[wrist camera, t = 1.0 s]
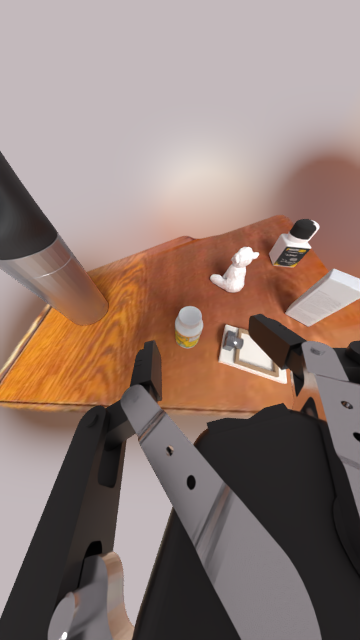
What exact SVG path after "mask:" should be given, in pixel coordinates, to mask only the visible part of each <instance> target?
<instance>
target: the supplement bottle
mask: <svg viewBox="0 0 360 640" xmlns="http://www.w3.org/2000/svg"><path fill="white" fill-rule="evenodd" d="M202 328H203V321H202V314H201V312H200V310H199V309H197V308H196V307H193V306H186V307H184V308H182V309H181V310H180V312H179V315H178V317H177V318H176V320H175V339H176V342H177V343H178V345H180V346H181V347H183V348H192V347H194V346H195V345H196V344H197V342H198V340H199V337H200V334H201V331H202Z"/></svg>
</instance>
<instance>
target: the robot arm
mask: <svg viewBox="0 0 360 640" xmlns="http://www.w3.org/2000/svg"><path fill="white" fill-rule="evenodd" d="M0 269H2V270H3V271H4V272H6V273H7V274H8V275H10V276H11V277H13V278H14V279H15V280H17V281H18V282H20V283H21V284H22V285H24V286H25V287H26V288H28V289H29V290H31V291H32V292H33V293H34V294H36V295H37V296H38V297H40V298H41V299H43V300H44V301H45V302H47V303H48V304H49V305H51V306H52V307H53V308H55V309H56V310H57V311H59V312H60V313H61V314H63V315H64V316H65V317H67V318H68V319H70V320H71V321H72V322H74V323H75V324H78V325H89V324H93V323H95V322H97V321H99V320H100V319H101V318H103V316H104V315H105V314H106V313H107V311H108V302H107V300H106V299H105V298H104V296H103V295H102V293H101V292H100V291H99V289H98V288H97V286H96V285H95V284H94V282H93V281H92V279H91V278H90V277H89V275H88V274H87V272H86V271H85V270H84V268H83V267H82V265H81V264H80V263H79V261H78V260H77V259H76V257H75V256H74V255H73V253H72V252H71V250H70V249H69V248H68V246H67V245H66V244H65V242H64V241H63V239H62V238H61V236H60V235H59V234H58V232H57V231H56V229H55V228H54V227H53V225H52V224H51V223H50V221H49V220H48V218H47V217H46V216H45V215H44V213H43V212H42V210H41V209H40V208H39V206H38V205H37V204H36V202H35V201H34V199H33V198H32V197H31V195H30V194H29V192H28V191H27V190H26V188H25V187H24V185H23V184H22V183H21V181H20V180H19V178H18V177H17V175H16V174H15V172H14V171H13V170H12V168H11V166H10V165H9V163H8V162H7V160H6V159H5V157H4V156H3V155H2V153H1V152H0ZM248 333H249V336H250V338H251V339H252V340H253V341H254V342H255V343H256V344H257V345H258V346H259V347H260V348H261V349H262V350H263V351H264V352H265V353H266V354H267V355H268V356H269V358H270V359H271V360H272V361H273V362H274V363H275V364H276V365H277V366H278V367H279V368H280V369H281V370H285V369H288V368H289V369H290V370H291V373H290V376H291V384H292V392H293V407H292V410H291V409H287V407H286V406H285V405H284V403H282V404H278V405H274V406H270V407H266V408H264V409H262V410H261V411H259V412H258V413H256V414H255V415H254V416H252V417H251V418H249V419H236V418H223V419H220V420H216V421H212V422H208V423H207V426H208V429H206V430H205V431H203V433H201V434H200V435H199V437H198V438H197V439H196V441H195V442H194V444H192V443H191V442H190V441H189V440H188V438H187V437H186V436H185V435H184V434H183V432H182V431H181V430H180V429H179V428H178V427H177V425H176V424H175V423H174V422H173V421H172V419H171V418H170V417H169V416H168V415H167V413H166V412H165V411H164V410H162V409H161V408H160V407H159V405H158V404H157V401H161V400H162V372H161V355H160V352H159V350H158V347H157V345H156V342H155V340H152V341H148V342H145V344H144V349H142V350H140V351H139V352H138V354H137V355H136V359H135V364H134V369H133V374H132V379H131V384H130V388H128V389H127V390H126V391H125V392H124V394H123V396H122V398H121V399H120V400H119V401H117V402H116V403H114V404H112V405H111V406H109V407H107V408H104V407H103V406H96V407H93V408H92V409H90V410H89V411H88V412H87V413H86V414H85V415H84V416H83V417H82V419H81V420H80V422H79V424H78V427H77V429H76V431H75V434H74V436H73V439H72V441H71V444H70V446H69V449H68V451H67V454H66V456H65V459H64V461H63V464H62V466H61V469H60V471H59V474H58V476H57V479H56V481H55V484H54V486H53V489H52V491H51V494H50V496H49V499H48V501H47V504H46V506H45V509H44V511H43V514H42V516H41V519H40V521H39V524H38V526H37V529H36V531H35V533H34V536H33V539H32V541H31V543H30V546H29V548H28V551H27V553H26V556H25V558H24V561H23V564H22V566H21V568H20V571H19V573H18V576H17V578H16V581H15V583H14V586H13V588H12V591H11V593H10V596H9V598H8V601H7V603H6V606H5V608H4V611H3V613H2V616H1V618H0V640H360V341H353V342H351V343H350V344H349V346H348V347H347V348H331V347H329V346H328V345H325V344H323V343H320V342H315V341H306V340H305V339H303V338H302V337H300V336H299V335H297V334H296V333H294V332H293V331H291V330H290V329H287V327H285V326H284V325H282V324H281V323H279V322H278V321H276V320H273V319H270V318H267V317H265V316H264V315H262V314H257V315H253V316H250V319H249V329H248ZM135 433H136V434H137V436H138V441H139V444H140V446H141V448H142V449H143V451H144V453H145V455H146V457H147V459H148V461H149V463H150V464H151V466H152V468H153V470H154V472H155V474H156V476H157V477H158V479H159V481H160V483H161V485H162V487H163V489H164V490H165V492H166V494H167V496H168V498H169V500H170V502H171V503H172V505H173V507H172V510H171V513H170V516H169V519H168V523H167V526H166V529H165V532H164V535H163V538H162V541H161V544H160V547H159V551H158V554H157V557H156V560H155V563H154V566H153V569H152V572H151V576H150V579H149V582H148V585H147V588H146V591H145V594H144V597H143V601H142V603H141V607H140V610H139V613H138V617H137V620H136V624H135V627H134V626H133V625H132V623H131V622H130V620H129V618H128V616H127V613H126V609H125V604H124V593H123V592H124V575H123V566H122V562H121V560H120V557H119V556H118V555H117V554H116V553H115V552H113V546H114V538H115V530H116V522H117V513H118V505H119V497H120V489H121V481H122V472H123V464H124V456H125V447H126V440H127V439H128V438H129V437H131V436H132V435H134V434H135Z"/></svg>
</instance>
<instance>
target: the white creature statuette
mask: <svg viewBox="0 0 360 640" xmlns="http://www.w3.org/2000/svg"><path fill="white" fill-rule="evenodd" d="M258 255H259V253H258V252H253V251H252V248H250V247H243V248H241V249H240V251H238V253H236V254H235V255H234V256H233V258H232V259H231V260H232V263H233V264H231V265H230V266H229V268H228V270H227V272H225V273H226V274H224V276H223V277H222V276H220V275H217V274H213V275H212V276H211V277H210V280H211V281H212V282H213V283H214V284H216V285H217V286H219V287H221V288H222V289H224V290H226V291H227V292H233V293H234V292H239V291H240V290H241V289H242V287H243V285H244V276H245V274H246V267H245V266H247V265H248V264H250V263H251V261H252V259H256V258H257V257H258Z"/></svg>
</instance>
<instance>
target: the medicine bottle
mask: <svg viewBox="0 0 360 640" xmlns="http://www.w3.org/2000/svg"><path fill="white" fill-rule="evenodd" d="M318 229H319V225H318V223H317V222H315V221H312V220H309V219H302V220H298V221H297V222H296V223H295V224H294V226H293V227H292V229H291V230H290V232H289V233H288V234H281V235H280V237H279V238H278V240H277V242H276V243H275V245H274V246H273V248H272V249H271V251H270V253H269V256H270V259H271V261H272V264H273V266H283V267H292V268H293V267H295V265H296V264H297V263H298V262H299V261H300V260H301V259H302V258H303V257H304V255H305V254H306V253H307V252H308V251H309V250H310V249H311V246H310V245H309V243H308V241H309V240H310V239H311V238H312V236H313V235H314V234H315V233H316V231H317V230H318Z"/></svg>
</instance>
